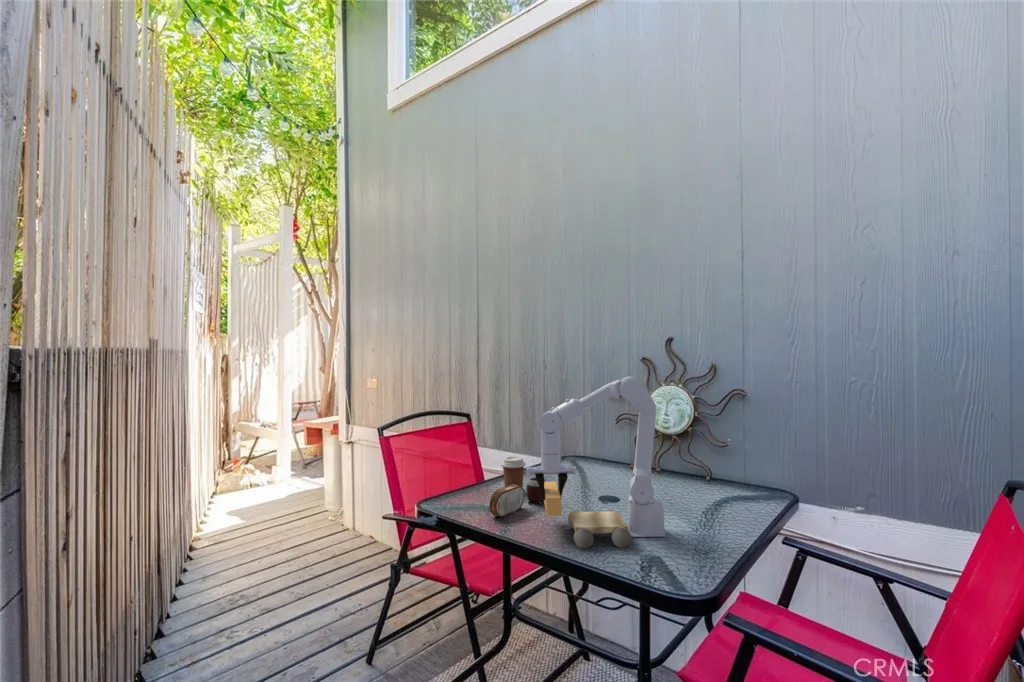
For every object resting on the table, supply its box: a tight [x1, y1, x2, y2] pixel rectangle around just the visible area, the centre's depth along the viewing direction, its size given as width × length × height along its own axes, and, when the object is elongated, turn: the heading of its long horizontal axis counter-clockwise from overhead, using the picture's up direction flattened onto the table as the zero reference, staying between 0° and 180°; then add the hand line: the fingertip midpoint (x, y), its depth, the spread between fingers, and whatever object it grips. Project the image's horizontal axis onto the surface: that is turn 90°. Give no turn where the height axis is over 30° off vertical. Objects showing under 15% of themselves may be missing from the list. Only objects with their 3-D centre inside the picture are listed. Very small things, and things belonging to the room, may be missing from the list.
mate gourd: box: [526, 462, 547, 506], centre depth 166 cm, size 8×8×15 cm
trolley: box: [567, 509, 633, 550], centre depth 135 cm, size 15×15×5 cm
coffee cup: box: [500, 455, 527, 489], centre depth 180 cm, size 9×9×12 cm
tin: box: [489, 484, 525, 518], centre depth 156 cm, size 15×3×8 cm, turn 141°
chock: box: [543, 481, 562, 517], centre depth 143 cm, size 4×16×5 cm, turn 0°
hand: (551, 499), depth 143 cm, fingers closed on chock, 4 cm apart
